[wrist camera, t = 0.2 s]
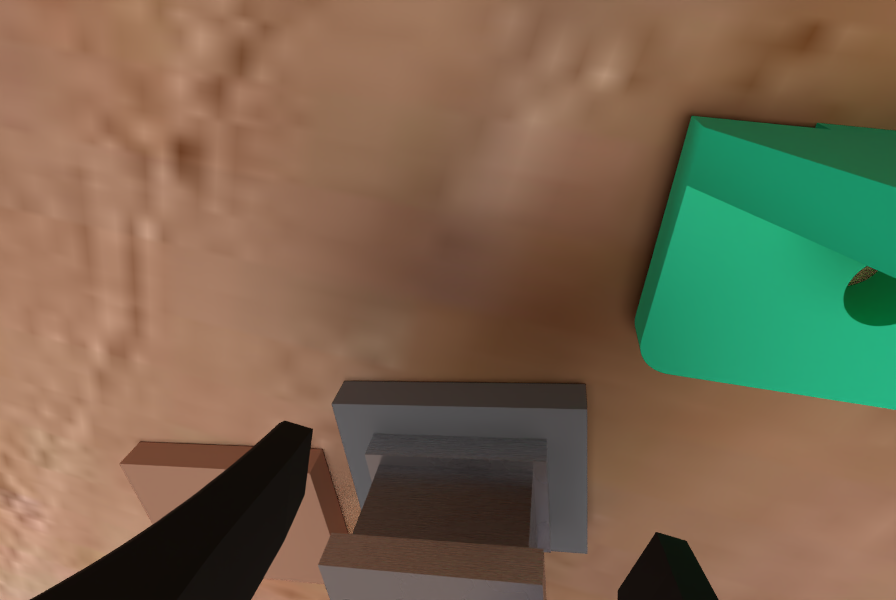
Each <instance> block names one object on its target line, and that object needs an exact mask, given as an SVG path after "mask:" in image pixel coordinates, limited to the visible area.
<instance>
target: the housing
mask: <svg viewBox="0 0 896 600" xmlns="http://www.w3.org/2000/svg"><path fill="white" fill-rule="evenodd" d="M365 458H366V462H367V465H368V469H369V473H370V477H371V481H372V484H371V487H370V489H369V492H368V495H367V497H366V500H365V502H364V505H363V508H362V510H361V513H360V515H359V518H358V521H357V523H356V526H355V528H354V531H353V534H342V533H331V535H330V537H329V540H328V542H327V545H326V547H325V549H324V552H323V554H322V556H321V559H320V561H319V563H318V567H319V570H320V572H321V575H322V578H323V581H324V584H325V586H326V589H327V592H328V595H329V598H330V600H547V598H546V581H545V564H544V552H549V553H551V517H550V496H549V474H548V453H547V439H529V438H499V437H468V436H438V435H408V434H378V433H374V434H373V436H372V439H371V441H370V443H369V446H368V448H367V450H366V453H365Z"/></svg>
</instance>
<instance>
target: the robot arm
mask: <svg viewBox="0 0 896 600" xmlns="http://www.w3.org/2000/svg"><path fill="white" fill-rule="evenodd" d="M312 432H313V429H311V428H308V427H304V426H301V425H298V424H294V423H291V422H288V421H283V422H281V423H279V424H278V425H277V426H276V427H275V428H274V429H272V430H271V431H270V432H269V433H268V434H267V435H266V436H265V437H264V438H263V439H261V440H260V441H259V442H258V443H257V444H256V445H255V446H253V447H252V448H251V449H250V450H249V451H248V452H246V453H245V454H244V455H243V456H242V457H241V458H239V459H238V460H237V461H236V462H235V463H233V464H232V465H231V466H230V467H229V468H227V469H226V470H225V471H224V472H222V473H221V474H220V475H218V476H217V477H216V478H215V479H213V480H212V481H211V482H210V483H208V484H207V485H206V486H205V487H203V488H202V489H201V490H199V491H198V492H197V493H196V494H194V495H193V496H192V497H190V498H189V499H188V500H186V501H185V502H183V503H182V504H181V505H179V506H178V507H176V508H175V509H174V510H172V511H171V512H169V513H168V514H167V515H165V516H164V517H163V518H161V519H160V520H158V521H157V522H156V523H154V524H153V525H151V526H150V527H148V528H147V529H146V530H144V531H143V532H141V533H140V534H138V535H137V536H135V537H134V538H132V539H131V540H129V541H128V542H126V543H124V544H123V545H121V546H120V547H118V548H117V549H115V550H114V551H112V552H110V553H109V554H107V555H106V556H104V557H102V558H101V559H99V560H98V561H96V562H94V563H93V564H91V565H89V566H88V567H86V568H84V569H83V570H81V571H79V572H77V573H76V574H74V575H72V576H71V577H69V578H67V579H65V580H64V581H62V582H60V583H58V584H57V585H55V586H53V587H52V588H50V589H48V590H46V591H45V592H43V593H41V594H39V595H37V596H36V597H34V598H32V599H30V600H251V599H252V597H253V595H254V594H255V592H256V590H257V588H258V587H259V585H260V583H261V581H262V580H263V578H264V576H265V574H266V573H267V571H268V569H269V567H270V566H271V564H272V562H273V560H274V559H275V557H276V555H277V553H278V552H279V550H280V548H281V546H282V544H283V543H284V541H285V538H286V536H287V534H288V532H289V530H290V527H291V525H292V523H293V521H294V518H295V516H296V514H297V512H298V509H299V507H300V505H301V502H302V500H303V498H304V495H305V489H306V481H307V473H308V465H309V456H310V448H311V440H312ZM618 600H718V598H717V596H716V594H715V592H714V590H713V589H712V587H711V585H710V583H709V581H708V579H707V578H706V576H705V574H704V572H703V570H702V568H701V567H700V565H699V563H698V561H697V559H696V557H695V556H694V554H693V552H692V550H691V548H690V547H689V545H688V543H687V541H685V540H681V539H678V538H675V537H671V536H668V535H665V534H661V533H658V532H656V533H655V535H654V536H653V538H652V539H651V541H650V542H649V544H648V545H647V547H646V548H645V550H644V551H643V553H642V554H641V556H640V557H639V559H638V561H637V562H636V564H635V565H634V567H633V568H632V570H631V571H630V573H629V574H628V576H627V577H626V579H625V580H624V582H623V583H622V585H621V586H620V588H619V589H618Z"/></svg>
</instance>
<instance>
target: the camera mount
mask: <svg viewBox="0 0 896 600" xmlns="http://www.w3.org/2000/svg"><path fill="white" fill-rule="evenodd" d="M866 266H869V267H871V268H873V269H876V270H878V272H877V273H876V274H874V275H873V276H872V277H870V278H868V279H867V280H865V281H863V282H860V283H858V284H855V285H851V286H847V285H848V283H849V282H850V280H851V279H852V278H853V277H854V276H855V275H856V274H857V273H858V272H859V271H860V270H862V269H863V268H865V267H866ZM635 329H636V333H637V337H638V342H639V346H640V351H641V355H642V357H643V359H644V361H645V362H646V363H647V364H648V365H649V366H650V367H651V368H653V369H654V370H656V371H659V372H661V373H665V374H671V375H677V376H684V377H690V378H696V379H703V380H709V381H715V382H722V383H728V384H735V385H741V386H747V387H754V388H760V389H767V390H773V391H779V392H786V393H792V394H799V395H805V396H811V397H818V398H824V399H830V400H837V401H843V402H850V403H856V404H862V405H869V406H875V407H882V408H888V409H894V410H896V131H895V130H885V129H875V128H865V127H855V126H845V125H835V124H824V123H817V124H816V127H815V128H810V127H800V126H790V125H780V124H770V123H760V122H750V121H740V120H730V119H719V118H709V117H699V116H691V120H690V123H689V127H688V131H687V134H686V138H685V141H684V145H683V148H682V152H681V156H680V159H679V163H678V166H677V170H676V173H675V177H674V181H673V184H672V188H671V191H670V195H669V198H668V202H667V205H666V209H665V213H664V216H663V220H662V223H661V227H660V230H659V234H658V238H657V241H656V245H655V248H654V252H653V255H652V259H651V263H650V266H649V270H648V273H647V277H646V280H645V284H644V288H643V291H642V295H641V298H640V302H639V305H638V309H637V312H636V316H635Z"/></svg>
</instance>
